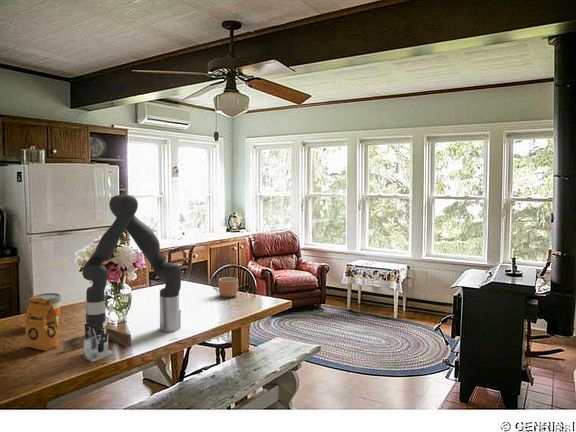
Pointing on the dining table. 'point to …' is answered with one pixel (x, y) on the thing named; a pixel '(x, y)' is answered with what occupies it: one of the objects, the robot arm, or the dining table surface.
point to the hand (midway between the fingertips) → (96, 349)
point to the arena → (112, 334)
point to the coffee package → (41, 325)
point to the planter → (228, 286)
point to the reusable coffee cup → (52, 301)
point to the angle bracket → (95, 349)
